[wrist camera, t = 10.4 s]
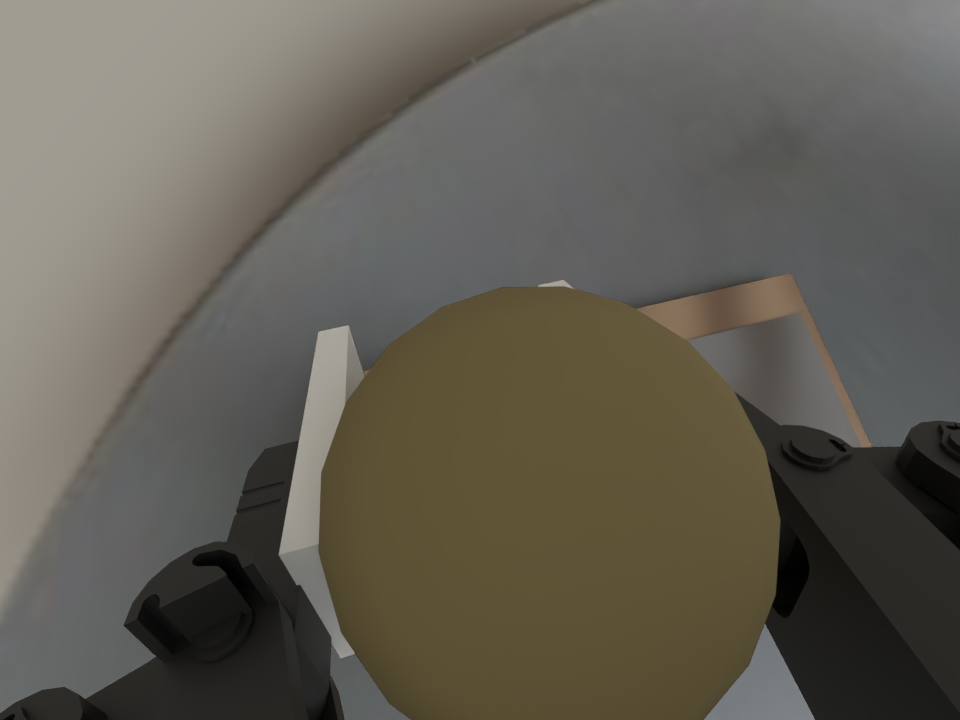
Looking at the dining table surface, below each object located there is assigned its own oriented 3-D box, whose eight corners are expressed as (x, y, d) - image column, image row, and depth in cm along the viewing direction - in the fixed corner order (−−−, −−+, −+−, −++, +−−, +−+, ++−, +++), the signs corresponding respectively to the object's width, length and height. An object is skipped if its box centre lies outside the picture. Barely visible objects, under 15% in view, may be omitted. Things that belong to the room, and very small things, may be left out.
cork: (403, 601, 13) (244, 1126, 3) (372, 410, 15) (188, 243, 4) (587, 553, 14) (1038, 804, 3) (542, 376, 15) (763, 163, 5)
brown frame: (773, 282, 23) (793, 272, 22) (867, 491, 20) (895, 492, 19) (360, 378, 20) (354, 372, 18) (412, 637, 17) (409, 650, 16)
